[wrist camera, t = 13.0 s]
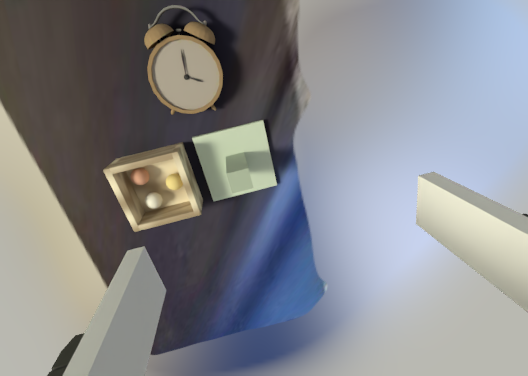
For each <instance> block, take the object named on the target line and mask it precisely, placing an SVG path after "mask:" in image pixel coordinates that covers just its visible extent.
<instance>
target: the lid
mask: <svg viewBox="0 0 528 376" xmlns="http://www.w3.org/2000/svg"><path fill="white" fill-rule="evenodd" d="M192 140H193V142H194V145H195V148H196V151H197V154H198V157H199V160H200V163H201V166H202V169H203V172H204V175H205V178H206V181H207V184H208V187H209V190H210V193H211V196H212V198H213V201H218V200H222V199H225V198H229V197H233V196H237V195H241V194H245V193H248V192H252V191H256V190H260V189H264V188H267V187H271V186H275V185H277V182H276V178H275V173H274V168H273V164H272V159H271V154H270V150H269V145H268V140H267V136H266V131H265V127H264V122H263V120H260V121H256V122H252V123H248V124H244V125H240V126H235V127H231V128H227V129H223V130H219V131H215V132H211V133H207V134H203V135H199V136H195V137H192Z"/></svg>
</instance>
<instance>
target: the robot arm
mask: <svg viewBox="0 0 528 376" xmlns="http://www.w3.org/2000/svg"><path fill="white" fill-rule="evenodd" d="M417 195H418V196H417V216H416V224H417V225H418V226H420V227H421V228H422V229H423V230H425V231H426V232H427V233H428V234H430V235H431V236H432V237H433V238H435V239H436V240H437V241H439V242H440V243H441V244H442V245H443V246H445V247H446V248H447V249H449V250H450V251H451V252H452V253H454V254H455V255H456V256H457V257H459V258H460V259H461V260H462V261H464V262H465V263H466V264H467V265H469V266H470V267H471V268H472V269H474V270H475V271H476V272H478V273H479V274H480V275H481V276H483V277H484V278H485V279H486V280H488V281H489V282H490V283H491V284H493V285H494V286H495V287H496V288H498V289H499V290H500V291H501V292H503V293H504V294H505V295H507V296H508V297H509V298H510V299H512V300H513V301H514V302H515V303H517V304H518V305H519V306H521V307H522V308H523V309H524V310H526V311H527V312H528V215H527V214H520V213H518V212H516V211H514V210H512V209H510V208H508V207H505V206H503V205H501V204H499V203H497V202H495V201H493V200H491V199H489V198H487V197H485V196H483V195H480V194H478V193H476V192H474V191H472V190H470V189H468V188H466V187H464V186H462V185H460V184H458V183H455V182H453V181H451V180H450V179H447V178H445V177H443V176H441V175H439V174H437V173H435V172H431V173H427V174H423V175H419V176H418V194H417ZM165 293H166V289H165V287H164V285H163V283H162V281H161V279H160V277H159V275H158V273H157V271H156V269H155V267H154V265H153V263H152V261H151V259H150V257H149V255H148V253H147V251H146V249H145V247H140V248H136V249H132V250H128V251H127V253H126V254H125V256H124V258H123V260H122V262H121V264H120V266H119V268H118V270H117V272H116V274H115V276H114V278H113V279H112V281H111V283H110V285H109V287H108V289H107V291H106V293H105V295H104V297H103V299H102V301H101V303H100V304H99V306H98V308H97V310H96V312H95V314H94V316H93V318H92V320H91V322H90V324H89V326H88V328H87V330H86V331H85V333H84V334H79V335H76V336H75V337H74V338H73V339H72V340H71V341H70V342H69V344H68V345H67V346H66V347H65V348H64V349H63V350H62V351H61V353H60V355H59V357H58V358H57V360H56V362H55V363H54V365H53V367H52V371H51V372H49V374H48V376H145V372H146V369H147V364H148V361H149V357H150V353H151V349H152V345H153V341H154V337H155V333H156V329H157V325H158V321H159V317H160V313H161V309H162V305H163V301H164V297H165Z"/></svg>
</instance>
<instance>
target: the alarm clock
mask: <svg viewBox="0 0 528 376" xmlns="http://www.w3.org/2000/svg"><path fill="white" fill-rule="evenodd" d="M174 8H177V9H183V10H186V11H188V12H190V13H191V14H192V15H193V16H194V17H195V18H196V19H197V17H196V16H195V15H194V14H193V13H192V12H191V11H190V10H189V9H187V8H185V7H182V6H177V5H172V6H168V7H166V8H163V9H162V10H161V11H160V12H159V14H158V15H157V17H156V19H155V21H154V23H153V24H152V25H151V24H148V27H149V28H148V29H149V30H148V32H147V33H146V35H145V39H144V41H145V45H146V47H147V48H148V49H151V48H153V47H155V46H156V47H155V48H154V50H153V51H152V53H151V55H150V58H149V62H148V67H147V69H148V79H149V82H150V85H151V87H152V89H153V92H154V93H155V94H156V96H157V97H158V98H159V100H160V101H161V102H162V103H164V104H165V105H166V106H168V107H169V108H170V109H172V110H171V114H172V115H173V114H174V113H175V111H178V112H181V113H189V114H194V113H198V112H202V111H204V110H206V109H207V108H209V107H211V108H212V109H213V110H216V107H215V106H214V105H213V104H214V102H215V101H216V100H217V98H218V97H219V95H220V92H221V89H222V86H223V72H222V68H221V65H220V61H219V59H218V58H217V56H216V54H215V53H214V51H213V50H212V49H211V48H210V47H209V46H208V45H207V44H206V43H204V42H203V41H201V40H199V38H201V39H203V40H205V41H207V42H210V43H212V44H215V36H214V34H213V32H212V31H211V30H210V29H209V28H208V27H207V21H203V23H202V22H201V21H199V20H198V19H197V20H198V21H199V22H200V23H199V22H190V23H188V24H187V25H186V26H185V28H184V31H186V32H188V33H190V34H193V35H195V36H197V39H196V38H194V37H192V36H184V35H180V33H179V35H176V36H172V37H169V36H170V35H171V34H172V33H173V32H174V30H173V29H172V28H171V27H170V26H168V25H166V24H158V25H156V23H157V22H158V20H159V18H160V16H161V15H162V14H163V13H164V12H165V11H167V10H170V9H174ZM201 23H202V24H201ZM176 31H177V32H180V31H181V29H176ZM164 35H166V36H168V38H166V39H164V40H163V41H162V40H161V37H163V36H164ZM157 40H159V41H160V43H159V44H158V42H157Z"/></svg>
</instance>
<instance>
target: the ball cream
mask: <svg viewBox="0 0 528 376" xmlns="http://www.w3.org/2000/svg"><path fill="white" fill-rule="evenodd" d="M145 204H146V205H147V206H148V207H149V208H152V209H155V208H158V207H160V206H161V204H162V197H161V195H160V194H158V193H156V192H152V193H149V194H148V195H147V196H146V198H145Z"/></svg>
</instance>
